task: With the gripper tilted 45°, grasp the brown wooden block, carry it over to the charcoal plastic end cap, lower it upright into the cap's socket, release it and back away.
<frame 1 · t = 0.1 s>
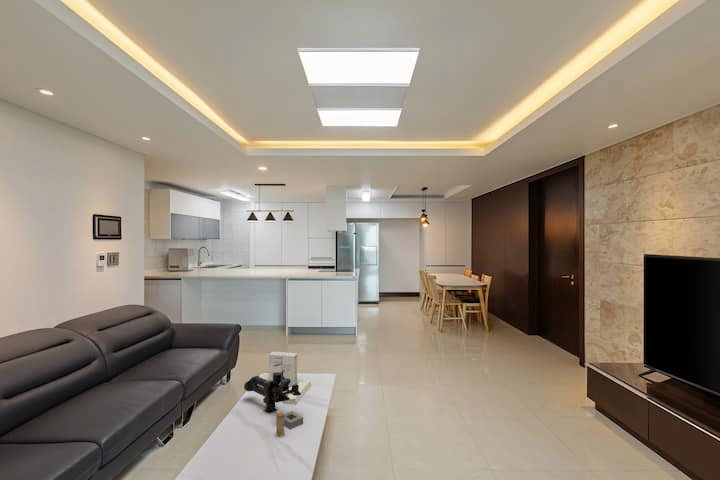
hand: (295, 396, 226), 17 cm above the table, tool horizontal, fingers open, 9 cm apart
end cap: (291, 422, 225), on the table
brown wooden block: (280, 434, 211), on the table
decorative molding: (297, 395, 268), on the table
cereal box: (282, 384, 287), on the table
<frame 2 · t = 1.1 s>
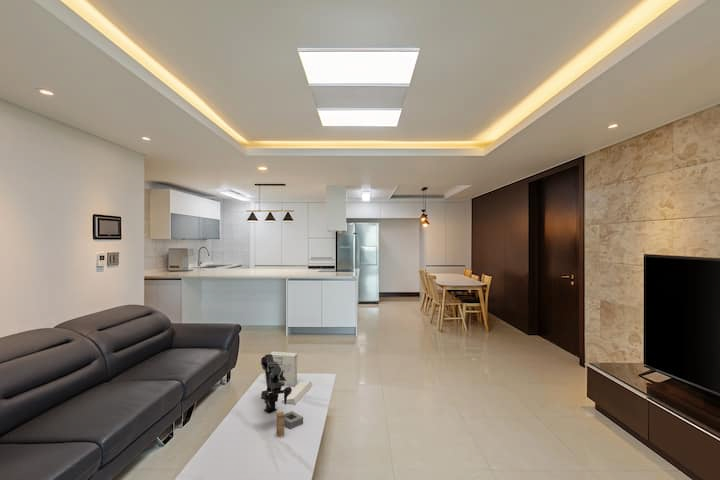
hand: (278, 406, 219), 14 cm above the table, tool tilted 45°, fingers open, 9 cm apart
nothing on the table moved.
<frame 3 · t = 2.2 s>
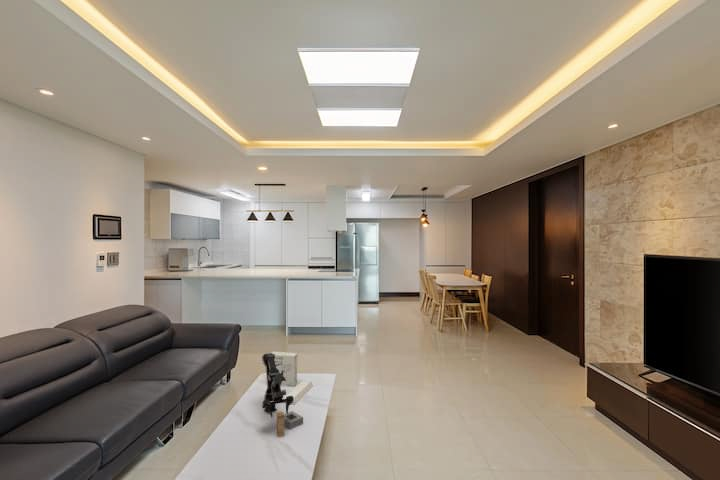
hand: (279, 415, 214), 10 cm above the table, tool tilted 45°, fingers open, 9 cm apart
nothing on the table moved.
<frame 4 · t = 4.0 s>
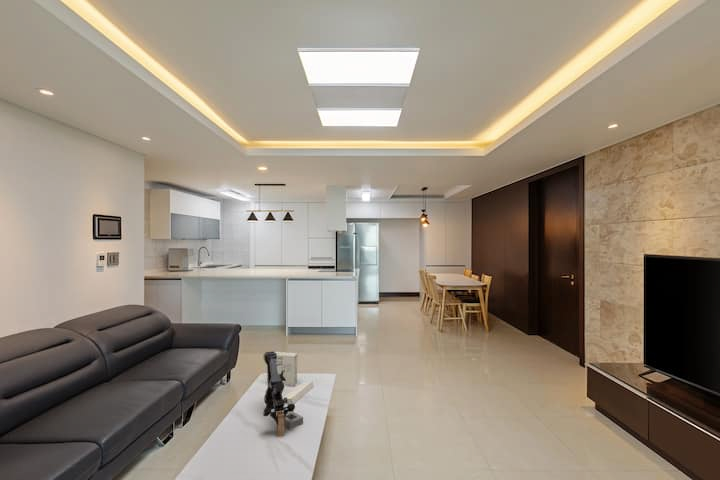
hand: (280, 424, 210), 7 cm above the table, tool tilted 45°, fingers closed on brown wooden block, 3 cm apart
brown wooden block: (280, 434, 211), on the table, touching gripper
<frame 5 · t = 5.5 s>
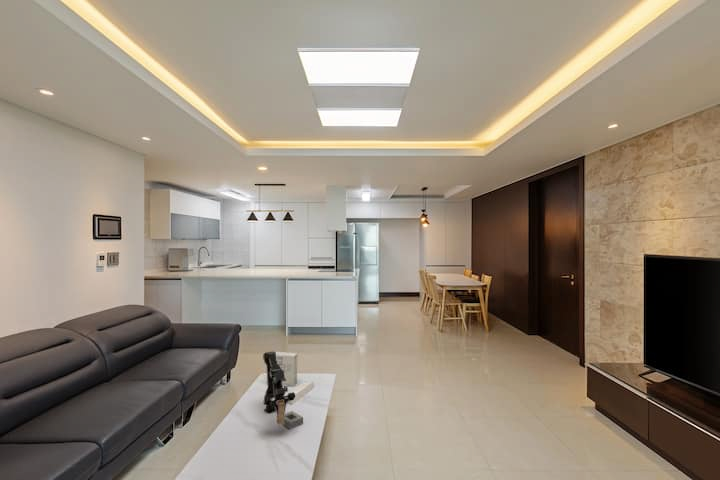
hand: (281, 412, 210), 13 cm above the table, tool tilted 45°, fingers closed on brown wooden block, 3 cm apart
brown wooden block: (280, 422, 211), point 7 cm above the table, touching gripper
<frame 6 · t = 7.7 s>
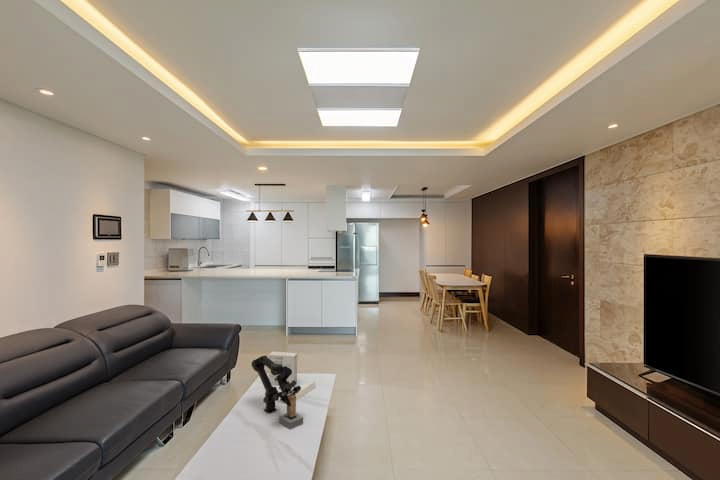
hand: (292, 405, 224), 12 cm above the table, tool tilted 45°, fingers closed on brown wooden block, 3 cm apart
brown wooden block: (291, 414, 225), point 5 cm above the table, touching gripper
when the fingers open (8 cm above the table, at t = 8.7 s): brown wooden block drops 1 cm, resting in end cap.
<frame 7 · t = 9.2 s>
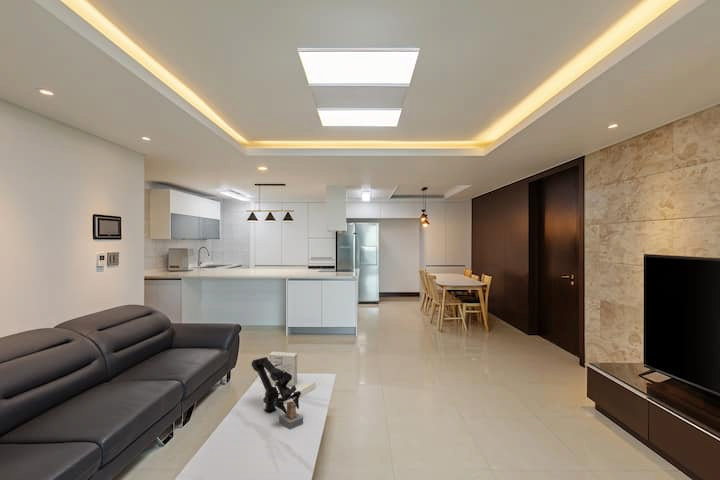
hand: (292, 411, 224), 8 cm above the table, tool tilted 45°, fingers open, 9 cm apart
brown wooden block: (291, 423, 225), resting in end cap
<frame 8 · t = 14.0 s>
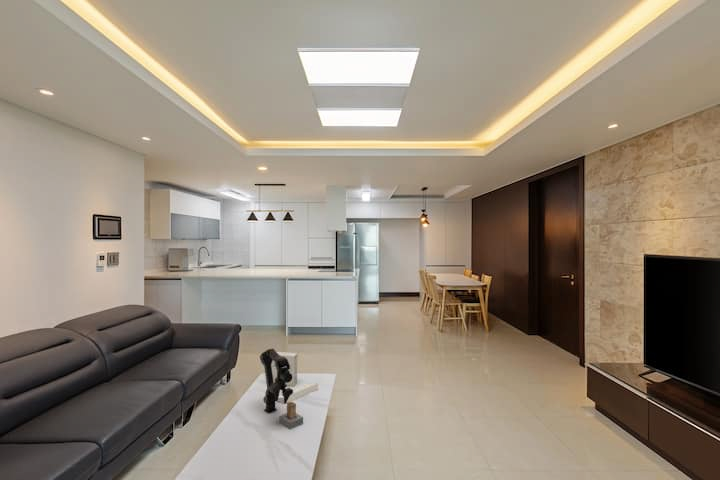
hand: (280, 401, 228), 12 cm above the table, tool pointing down, fingers open, 9 cm apart
at the end: brown wooden block 0.0 cm off-centre on the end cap, point 0.0 cm above the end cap's base; brown wooden block tilted 0°; the gripper is holding nothing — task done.
